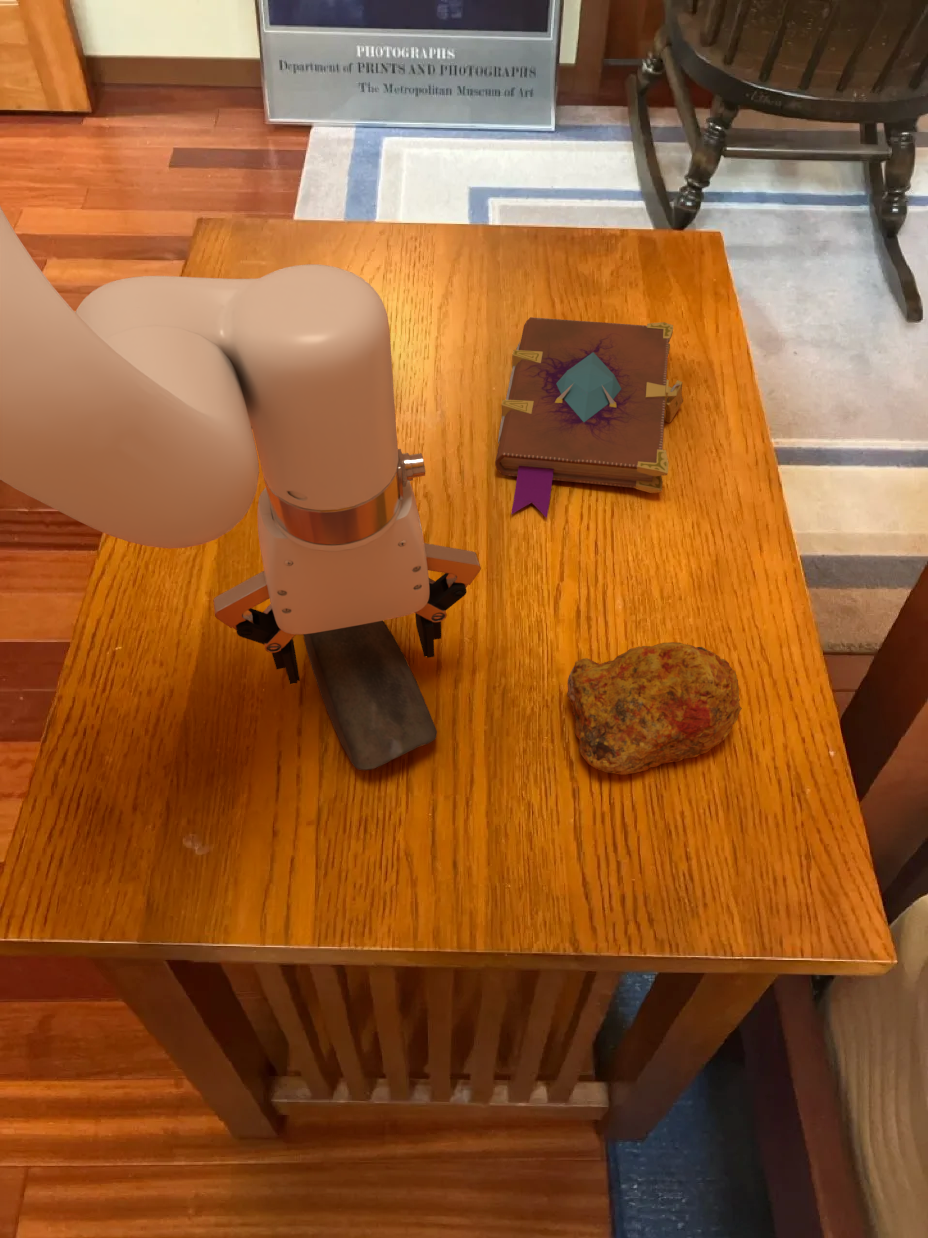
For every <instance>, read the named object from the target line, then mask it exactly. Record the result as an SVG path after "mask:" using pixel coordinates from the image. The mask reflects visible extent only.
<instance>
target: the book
mask: <svg viewBox="0 0 928 1238" xmlns="http://www.w3.org/2000/svg"><path fill="white" fill-rule="evenodd" d="M673 332H674V325H673V324H671V323H667V322H651V323H650V322H647V324H646V325H643V324H628V323H617V322H616V323H615V322H604V321H603V322H602V321H590V320H589V321H587V320H574V319H561V318H560V319H559V318H558V319H557V318H548V317H547V318H546V317H545V318H544V317H532V316H531V317H529V318H528V319H527V320H526V321H525V322H524V324H523V327H522V333H521V338H520V341H519V342H518V344H517V347H516V349H512V354H511V373H510V378H509V382H508V387H507V391H506V397H505V399H502V401H501V410H500V411H501V412H500V413H501V420H500V424H499V428H498V429H499V430H498V440H497V444H498V448H497V451H496V457H495V464H494V466H495V468H496V469H497V471H498V472H499V473H500V474H501V475H502V476H508V477H509V476H510V477H516V482H515V488H514V496H513V502H512V507H511V513H510V515H513V514H516V513H517V512H518V511H520V510H522V509H524V508H525V507H528V506H529V505H530V504H532V506H534V507H535V508H536V509H537V510H538V511H539V512H540V513H541V514H542V515H543V516H544V517H545V518H546V519H548V514H549V507H550V500H551V493H552V486H553V481H561V482H571V483H572V482H573V483H581V484H582V483H584V484H593V485H601V486H602V485H604V486H612V487H613V486H614V487H622V488H623V487H624V488H633V489H636V490H638V491H642V492H647V493H650V494H657V493H658V494H659V493H662V492H663V483H664V482H663V481H664V480H663V477H664V476H668V475H669V458H668V453H667V450H666V449H663V447H664V429H665V428H664V427H665V422H666V423H669V424H671V422H672V421H673V419H674V418H675V416H676V415H677V412H678V411H679V409H680V408H681V406H682V404H683V402H684V398H683V381H681V380H678V379H677V380H676V382H675V383H674V385H672V386H669V383H670V380H669V379H667V374H668V357H669V355H670V350H671V343H670V341H671V339H672V336H673Z"/></svg>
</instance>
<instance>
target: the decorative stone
mask: <svg viewBox="0 0 928 1238" xmlns="http://www.w3.org/2000/svg"><path fill="white" fill-rule="evenodd" d="M302 635H303V639H304V644H305V649H306V652H307V655H308V660H309V663H310V665H311V669H312V672H313V675H314V679H315V682H316V685H317V687H318V690H319V693H320V696H321V698H322V701H323V703H324V706H325V709H326V712H327V714H328V716H329V719H330V721H331V724H332V727H333V729H334V731H335V733H336V735H337V738H338V740H339V742H340V744H341V747H342V749H343V750H344V752H345V754H346V755H347V757H348V759H349V761H350V763H351V764H352V766H353V767H354V768H356V769H357V770H359V771H370V770H374V769H377V768H380V767H382V766H384V765H385V764H387V763H390V762H391V761H393V760H396V759H397V758H399V757H401V756H403V755H405V754H408V753H409V752H411V751H414V750H416V749H417V748H419V747H423V746H426V745H429V744H431V743H432V742H433V741H435V740H436V739H437V735H438V730H437V727H436V725H435V722H434V720H433V718H432V715H431V712H430V710H429V707H428V705H427V704H426V701H425V698H424V696H423V693H422V692H421V690H420V686H419V685H418V682H417V679H416V678H415V676H414V673H413V671H412V669H411V667H410V664H409V663H408V660H407V658H406V657H405V654H404V652H403V650H402V649H401V647H400V645H399V643H398V642H397V640H396V638H395V637H394V635H393V633H392V632H391V630H390V629H389V627H388V625H387V624H386V623H385V620H383V621H378V622H372V623H367V624H362V625H356V626H351V627H345V628H340V629H334V630H328V631H323V632H317V633H310V634H302Z"/></svg>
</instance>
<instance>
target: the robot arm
mask: <svg viewBox="0 0 928 1238" xmlns="http://www.w3.org/2000/svg"><path fill="white" fill-rule="evenodd" d="M389 323H390V321H389V315H388V312H387V309H386V307H385V304H384V301H383V300H382V298H381V296H380V295H379V293H378V292H377V290H376V289H375V288H374V287H373V286H372V285H371V284H370V282H369V283H368V281H366V280H365V279H364V278H363V277H361V276H359V275H357V274H356V273H354V272H352V271H349V270H346V269H344V268H341V267H337V266H333V265H329V264H328V265H327V264H319V263H318V264H317V263H316V264H315V263H314V264H313V263H311V264H310V263H309V264H308V263H307V264H298V265H292V266H287V267H283V268H279V269H277V270H274V271H271V272H270V273H267V274H265V275H263V276H261V277H257V278H226V277H225V278H223V277H222V278H221V277H220V278H219V277H196V276H195V277H194V276H193V277H192V276H179V275H178V276H176V275H143V276H131V277H125V278H121V279H116V280H113V281H110V282H107V283H105V284H102V285H101V286H99V287H97V288H95V289H94V290H92V291H91V292H90V293H88V295H86V296H85V297H84V299H83V300H82V301H81V302H80V304H79V305H78V307H77V308H76V310H74V309H73V308H72V307H71V306H70V305H69V303H68V302H67V301H66V299H64V298H63V296H62V295H61V294H60V293H59V292H58V290H57V289H56V288H55V287H54V286H53V284H52V283H51V282H50V280H49V279H48V278H47V277H46V275H45V274H44V272H43V271H42V270H41V268H40V267H39V266H38V265H37V263H36V262H35V260H34V259H33V257H32V256H31V254H30V253H29V251H28V250H27V248H26V247H25V245H24V244H23V243H22V241H21V239H20V238H19V236H18V235H17V233H16V231H15V229H14V228H13V226H12V224H11V223H10V221H9V220H8V217H7V216H6V214H5V212H4V211H3V208H2V207H1V205H0V481H1V482H3V483H5V484H7V485H9V486H10V487H12V488H13V489H15V490H17V491H19V492H20V493H23V494H25V495H27V496H28V497H30V498H32V499H34V500H36V501H38V502H41V504H44V505H46V506H48V507H49V508H52V509H54V510H55V511H58V512H59V513H62V514H63V515H65V516H67V517H68V518H71V519H73V520H75V521H77V522H79V523H81V524H83V525H86V526H87V527H90V528H91V529H93V530H96V531H98V532H101V533H103V534H106V535H108V536H111V537H113V538H117V539H120V540H123V541H125V542H128V543H131V544H132V543H133V544H136V545H140V546H146V547H152V548H161V549H185V548H190V547H191V548H192V547H195V546H201V545H206V544H207V543H210V542H212V541H215V540H217V539H219V538H221V537H223V536H224V535H226V534H227V533H228V532H229V533H230V532H231V531H232V530H233V529H234V528H235V527H236V526H237V525H238V524H239V523H240V522H242V520H243V519H244V517H245V516H246V515H247V513H248V512H249V510H250V508H251V507H252V504H253V503H254V502H253V501H254V499H255V496H256V494H257V490H258V483H259V475H260V467H261V472H262V475H263V481H264V485H265V488H263V490H262V491H261V492H260V494H259V497H258V503H257V534H258V542H259V548H260V549H259V550H260V554H261V555H260V556H261V560H262V566H263V570H262V571H261V572H259V573H257V574H255V575H253V576H251V577H250V578H248V579H246V580H244V581H243V582H240V583H239V584H237V585H234V586H233V587H231V588H230V589H228V590H226V591H223V592H222V593H220V594H219V595H216V596H215V597H214V598H213V600H212V601H213V612H214V617H215V619H217V620H219V621H220V622H221V623H223V624H224V625H226V626H227V627H229V628H230V629H234V630H235V631H236V635H237V636H239V637H241V638H243V639H246V640H249V641H253V642H255V643H259V644H261V645H263V646H264V650H265V651H266V652H267V653H271V655H272V658H273V662H274V666H275V669H276V670H283V669H285V671H286V675H287V678H288V682H289V685H293V684H298V682H299V681H300V680H301V679H300V678H301V677H300V672H299V667H298V666H299V665H298V660H297V653H296V648H295V644H294V640H293V639H294V638H295V637H296V635H303V634H310V633H317V632H323V631H328V630H334V629H340V628H345V627H351V626H356V625H362V624H367V623H372V622H378V621H386V620H393V619H397V618H402V617H406V616H410V615H413V614H414V615H415V625H416V626H415V627H416V631H417V634H418V639H419V643H420V646H421V650H422V654H423V657H424V658H425V657H426V658H427V659H429V658H434V657H435V641H436V640H440V639H442V621H444V620H446V618H448V617H447V616H448V615H447V611H448V610H449V609H450V608H451V607H452V606H454V605H455V604H456V603H457V602H459V601H460V600H461V599H462V598H463V597H465V596H466V595H467V588H468V586H470V585H471V584H472V583H473V581H475V579H476V577H477V576H478V574H479V573H480V572H481V571H482V570H481V569H482V567H481V564H480V561H479V557H478V555H477V554H478V553H476V551H473V550H467V549H461V548H457V547H451V546H449V547H448V546H443V545H438V544H432V543H425V540H424V533H423V528H422V523H421V518H420V513H419V510H418V505H417V499H416V495H415V492H414V489H413V486H412V483H411V482H412V481H413V480H414V479H415V478H421V477H426V466H425V460H424V456H423V453H421V452H419V453H413V454H410V453H409V452H405V453H404V452H402V449H401V448H399V446H398V445H399V444H398V432H397V419H396V408H395V407H396V406H395V389H394V376H393V375H394V374H393V360H392V343H391V331H390V324H389ZM251 426H252V427H251ZM429 571H430V572H437V573H442V574H443V575H441V576H440V577H439V578H438V579H436V580H434V579H432V578H431V577H429ZM267 600H269V602H270V604H269V605H267V606H266V608H265V609H264V610H263V611H261V610H257V609H254V607H256V606H258V605H260V604H262V603H264V602H266V601H267Z"/></svg>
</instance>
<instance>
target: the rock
mask: <svg viewBox="0 0 928 1238" xmlns="http://www.w3.org/2000/svg"><path fill="white" fill-rule="evenodd" d="M736 672H737V671H736V670H734V669H733V667H732V666H731V665H730V663H729V662H728V661H727V660H726V659H725V658H721V656H720V655H718V654H716V653H715V652H713V651H712V650H709V649H707V648H705V647H703V646H697V647H695V645H692V644H687V643H681V642H673V641H671V642H670V641H669V642H661V643H658V644H655V645H649V646H647V645H643V646H636V647H633V648H629V649H628V650H627V651H625V652H623V653H621V654H619V655H617V656H616V657H615V658H614V659H613V660H608V661H605V662H602V663H599V662H596V661H594V660H592V659H590V658H588V657H587V658H586V657H585V658H581V659H579V660H576V661H575V662H574V665H573V667H572V669H571V671H570V673H569V675H568V678H567V691H566V697H567V698H568V700H569V702H570V704H571V706H572V714H573V716H574V717H575V733H574V734H575V736H576V738H578V739H579V747H578V752H579V754H580V755H581V756H582V757H583V759H584V760H585V762H586V763H587V764H588V765H589V766H591V767H592V768H595V769H596V770H598V771H602V772H604V773H609V774H616V775H617V774H618V775H631V774H636V773H641V772H642V771H643V772H645V771H648V770H650V768H657V767H658V766H660V765H662V764H669V763H671V762H672V763H673V762H680V761H682V760H684V759H692V758H697V757H698V756H699V755H702V754H706V753H708V752H709V751H710V750H711V749H713V748H714V747H716V746H717V745H719V744H721V743H722V742H724V741H725V739H726V738H727V737H728V735H729V734H730V732H731V730H732V729H733V726H734V725H736V723H737V721H738V719H739V718H738V717H739V715H740V712H741V711H742V707H741V705H740V701H741V698H740V688H739V679H738V678H737V673H736Z"/></svg>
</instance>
